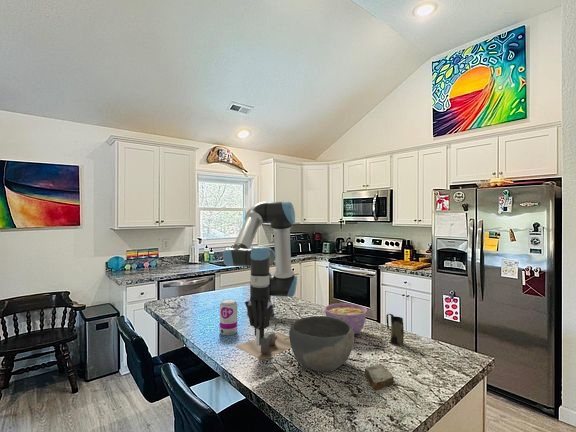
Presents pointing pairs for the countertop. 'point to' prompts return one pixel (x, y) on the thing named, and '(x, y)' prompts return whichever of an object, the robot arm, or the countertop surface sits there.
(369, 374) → the stone
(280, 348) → the board
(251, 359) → the countertop surface
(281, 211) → the robot arm
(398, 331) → the mug
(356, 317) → the bowl of food
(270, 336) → the peg key
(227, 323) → the supplement can
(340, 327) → the bowl
